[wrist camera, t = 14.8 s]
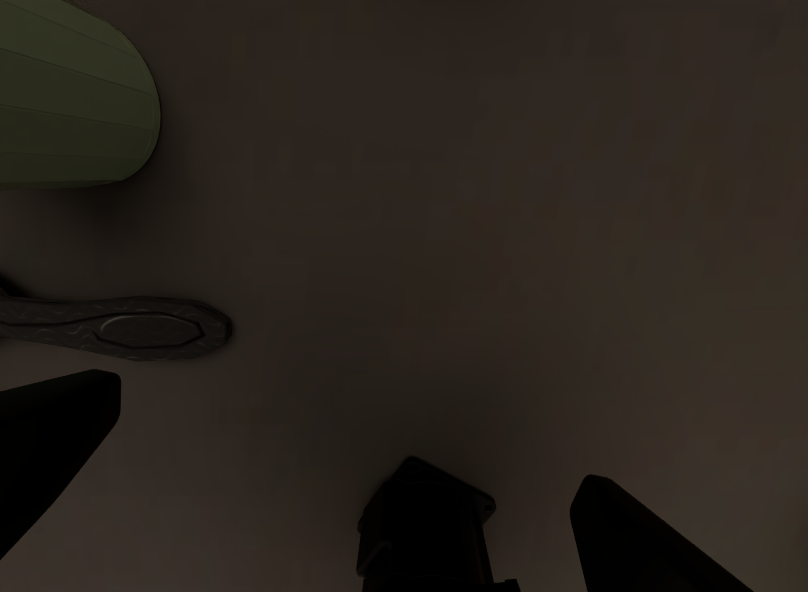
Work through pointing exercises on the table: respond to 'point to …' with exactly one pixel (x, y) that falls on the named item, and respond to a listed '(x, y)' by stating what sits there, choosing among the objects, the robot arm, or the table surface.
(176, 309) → the hairbrush
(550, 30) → the table surface
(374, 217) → the table surface
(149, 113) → the pen cup
